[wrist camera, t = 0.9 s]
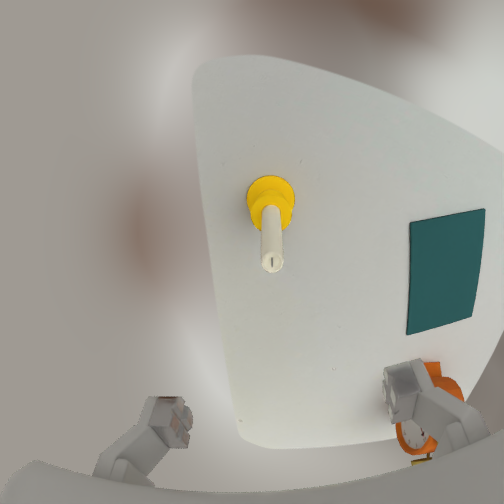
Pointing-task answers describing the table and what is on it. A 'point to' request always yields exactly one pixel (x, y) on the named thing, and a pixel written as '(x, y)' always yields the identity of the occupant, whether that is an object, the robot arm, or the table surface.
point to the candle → (271, 217)
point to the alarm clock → (415, 436)
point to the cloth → (444, 269)
